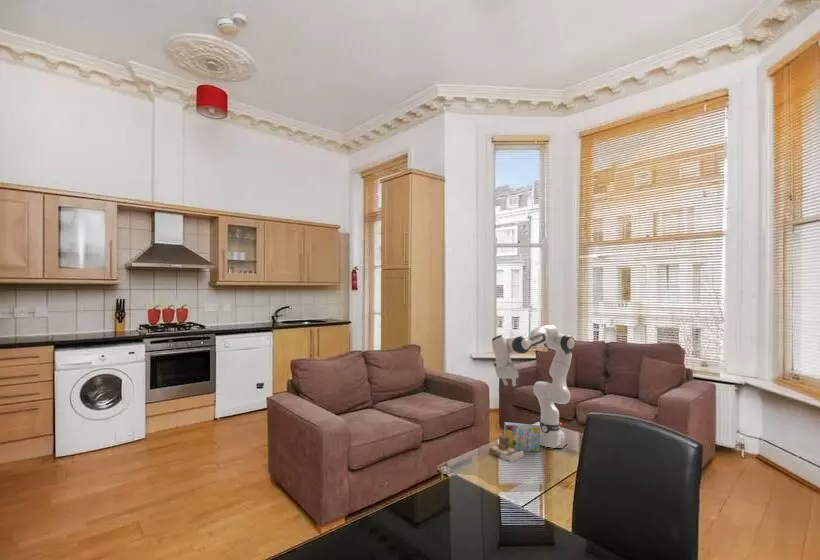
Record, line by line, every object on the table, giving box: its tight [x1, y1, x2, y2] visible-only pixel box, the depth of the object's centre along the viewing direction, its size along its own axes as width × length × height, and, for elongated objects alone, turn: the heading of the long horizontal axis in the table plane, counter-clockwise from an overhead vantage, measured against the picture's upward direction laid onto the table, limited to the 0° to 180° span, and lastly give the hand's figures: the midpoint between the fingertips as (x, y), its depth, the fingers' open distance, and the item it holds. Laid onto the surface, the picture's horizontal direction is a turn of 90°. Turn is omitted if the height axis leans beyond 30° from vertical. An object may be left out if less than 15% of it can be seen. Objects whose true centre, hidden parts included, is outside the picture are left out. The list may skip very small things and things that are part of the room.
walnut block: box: [498, 434, 509, 450], centre depth 246 cm, size 4×4×7 cm
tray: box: [499, 450, 524, 463], centre depth 241 cm, size 12×8×4 cm, turn 132°
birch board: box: [489, 443, 518, 458], centre depth 246 cm, size 12×11×3 cm
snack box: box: [503, 421, 541, 453], centre depth 255 cm, size 21×6×15 cm, turn 84°
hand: (510, 385), depth 245 cm, fingers open, 8 cm apart
